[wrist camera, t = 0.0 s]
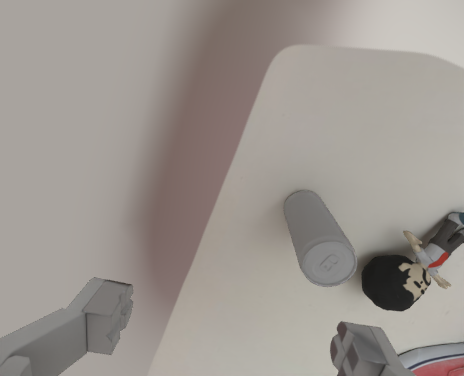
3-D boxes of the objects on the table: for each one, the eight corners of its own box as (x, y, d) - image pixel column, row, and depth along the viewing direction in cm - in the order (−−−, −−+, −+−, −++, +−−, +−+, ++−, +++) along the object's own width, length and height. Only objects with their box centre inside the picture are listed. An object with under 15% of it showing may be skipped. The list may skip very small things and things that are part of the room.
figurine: (501, 255, 32) (414, 344, 31) (446, 238, 38) (372, 311, 37) (466, 194, 29) (370, 288, 28) (414, 187, 36) (334, 263, 35)
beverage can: (275, 209, 34) (288, 269, 23) (300, 181, 32) (327, 229, 21) (304, 230, 35) (331, 297, 24) (330, 202, 33) (372, 260, 22)
